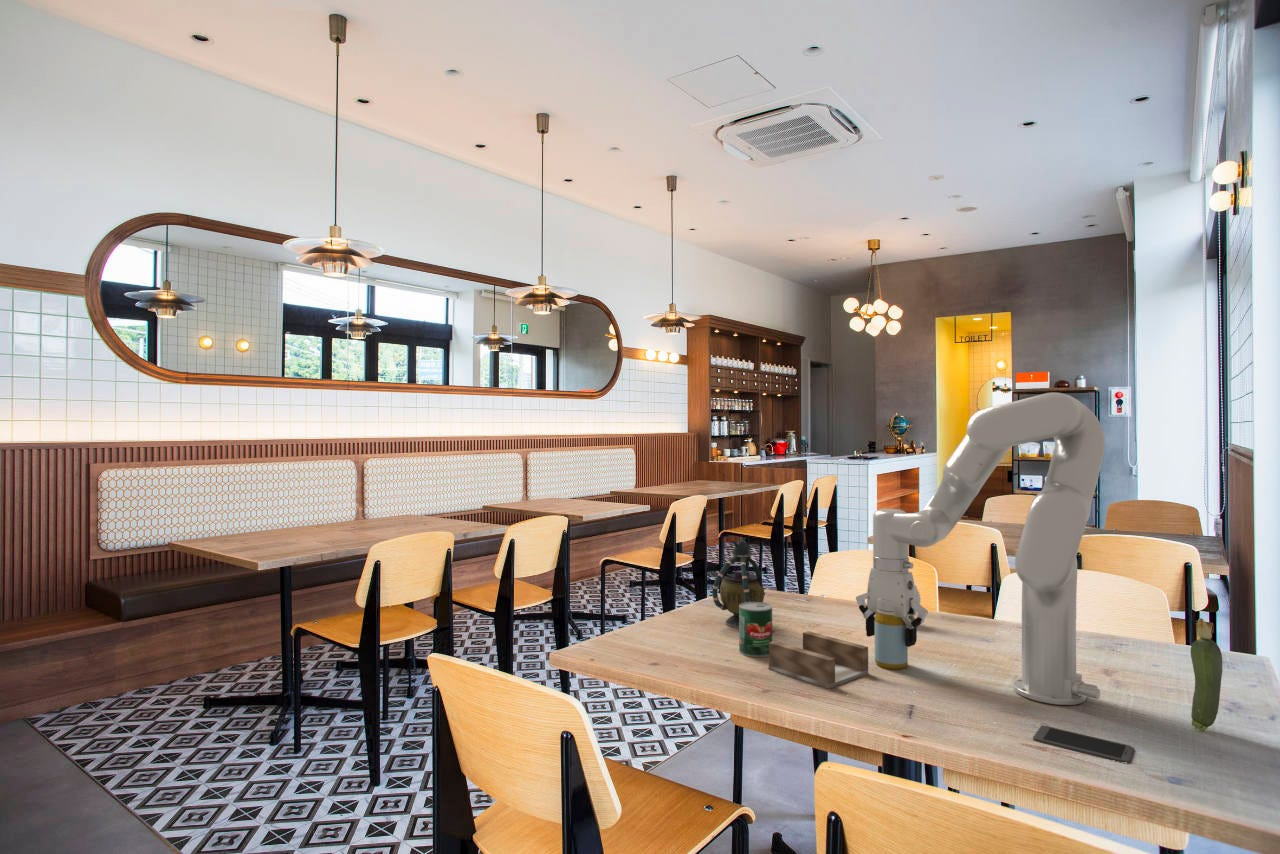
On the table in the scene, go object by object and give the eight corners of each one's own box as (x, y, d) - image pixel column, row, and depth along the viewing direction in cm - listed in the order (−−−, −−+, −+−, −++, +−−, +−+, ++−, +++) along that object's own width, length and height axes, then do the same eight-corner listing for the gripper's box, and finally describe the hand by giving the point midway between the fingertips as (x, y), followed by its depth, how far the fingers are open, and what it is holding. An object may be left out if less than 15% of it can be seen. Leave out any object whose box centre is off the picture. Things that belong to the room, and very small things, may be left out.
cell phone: (1041, 728, 129) (1041, 724, 129) (1135, 751, 120) (1135, 746, 120) (1031, 742, 123) (1031, 737, 123) (1129, 766, 114) (1129, 762, 114)
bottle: (903, 660, 165) (902, 594, 165) (911, 670, 158) (911, 602, 158) (871, 659, 166) (871, 594, 166) (878, 669, 159) (878, 601, 159)
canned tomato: (757, 659, 167) (757, 611, 167) (732, 651, 173) (732, 605, 173) (779, 652, 172) (779, 606, 172) (754, 644, 178) (754, 600, 178)
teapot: (708, 629, 192) (708, 541, 192) (742, 608, 214) (742, 529, 214) (751, 635, 186) (751, 545, 186) (782, 613, 208) (781, 532, 208)
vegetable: (1208, 726, 128) (1208, 614, 128) (1229, 736, 124) (1229, 620, 124) (1184, 726, 128) (1184, 614, 128) (1204, 737, 124) (1204, 621, 124)
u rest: (868, 673, 157) (868, 646, 157) (829, 688, 148) (829, 660, 148) (808, 655, 169) (808, 631, 169) (768, 668, 160) (768, 642, 160)
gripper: (935, 568, 158) (935, 646, 158) (866, 557, 171) (866, 629, 171) (917, 572, 153) (917, 653, 153) (847, 560, 167) (847, 634, 167)
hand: (890, 640), depth 162 cm, fingers open, 9 cm apart
